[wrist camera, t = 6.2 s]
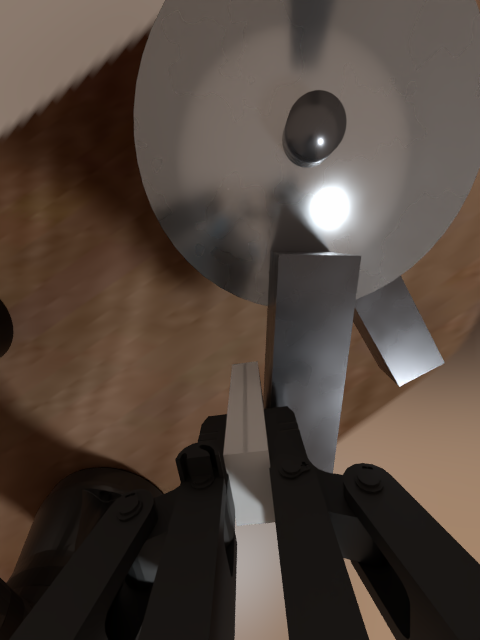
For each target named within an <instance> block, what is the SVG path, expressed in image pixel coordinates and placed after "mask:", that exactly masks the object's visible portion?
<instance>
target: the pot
mask: <svg viewBox="0 0 480 640" xmlns="http://www.w3.org/2000/svg"><path fill="white" fill-rule="evenodd" d="M353 322H354V324H355V326H356V327H357V329H358V331H359V333H360V334H361V336H362V338H363V340H364V341H365V343H366V345H367V347H368V348H369V350H370V352H371V354H372V355H373V357H374V359H375V361H376V362H377V364H378V366H379V368H380V369H382V370H383V371H384V372H385V373H386V374H387V375H388V376H389V377H390V378H391V379H392V380H393V381H394V382H395V383H396V384H397V385H398V386H401V385H403V384H405V383H407V382H409V381H411V380H413V379H415V378H417V377H419V376H421V375H422V374H424V373H426V372H428V371H430V370H432V369H434V368H436V367H438V366H440V365H442V364H444V361H443V359H442V357H441V355H440V353H439V351H438V349H437V347H436V345H435V343H434V341H433V339H432V337H431V335H430V333H429V331H428V329H427V327H426V325H425V323H424V321H423V319H422V317H421V315H420V313H419V311H418V309H417V307H416V305H415V303H414V301H413V299H412V297H411V295H410V293H409V291H408V290H407V288H406V286H405V284H404V282H403V280H402V278H401V276H399V277H398V278H396V279H395V280H394V281H392V282H390V283H388V284H387V285H385V286H383V287H381V288H380V289H378V290H376V291H374V292H372V293H370V294H367V295H365V296H363V297H360V298H358V299H356V301H355V308H354V316H353Z"/></svg>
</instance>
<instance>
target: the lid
mask: <svg viewBox="0 0 480 640" xmlns="http://www.w3.org/2000/svg"><path fill="white" fill-rule="evenodd" d="M134 139H135V147H136V155H137V162H138V166H139V170H140V174H141V178H142V182H143V186H144V189H145V191H146V194H147V197H148V199H149V202H150V205H151V207H152V209H153V211H154V213H155V215H156V217H157V219H158V221H159V223H160V225H161V227H162V229H163V230H164V231H165V233H166V234H167V236H168V237H169V239H170V240H171V242H172V243H173V245H174V246H175V247H176V249H177V250H178V251H179V252H180V253H181V254H182V255H183V257H184V258H185V259H186V260H187V261H188V262H189V263H190V264H191V265H192V266H193V267H194V268H195V269H197V270H198V271H199V272H200V273H201V274H202V275H203V276H204V277H206V278H207V279H209V280H210V281H212V282H213V283H215V284H216V285H218V286H219V287H220V288H222V289H224V290H226V291H228V292H230V293H232V294H234V295H236V296H238V297H240V298H243V299H246V300H249V301H251V302H254V303H257V304H261V305H266V306H268V311H267V332H266V353H265V374H264V396H263V403H264V409H267V408H275V407H283V406H288V407H289V408H290V409H291V410H292V411H293V412H294V414H295V417H296V420H297V424H298V427H299V430H300V434H301V437H302V440H303V444H304V447H305V450H306V454H307V457H308V459H309V460H310V461H311V463H312V464H313V465H314V466H315V467H317V468H318V469H320V470H322V471H325V472H329V473H333V467H334V460H335V452H336V445H337V437H338V429H339V422H340V414H341V407H342V399H343V392H344V384H345V376H346V369H347V361H348V354H349V346H350V339H351V331H352V323H353V316H354V308H355V301H356V299H358V298H360V297H363V296H365V295H367V294H370V293H372V292H374V291H376V290H378V289H380V288H381V287H383V286H385V285H387V284H388V283H390V282H392V281H394V280H395V279H396V278H398V277H399V276H400V275H402V274H403V273H404V272H406V271H407V270H408V269H410V268H411V267H412V266H413V265H414V264H415V263H417V262H418V261H419V260H420V259H421V258H422V257H423V256H424V255H425V254H426V253H427V252H428V251H429V250H430V249H431V248H432V247H433V246H434V244H435V243H436V242H437V241H438V240H439V239H440V238H441V236H442V235H443V234H444V233H445V231H446V230H447V228H448V227H449V226H450V224H451V223H452V221H453V220H454V218H455V217H456V215H457V214H458V212H459V210H460V209H461V207H462V205H463V203H464V201H465V199H466V197H467V196H468V194H469V192H470V190H471V187H472V185H473V182H474V180H475V178H476V175H477V173H478V170H479V168H480V12H479V9H478V6H477V3H476V1H475V0H165V2H164V4H163V6H162V8H161V10H160V12H159V14H158V16H157V18H156V20H155V22H154V24H153V26H152V29H151V32H150V34H149V37H148V40H147V43H146V46H145V49H144V52H143V55H142V59H141V64H140V68H139V73H138V78H137V82H136V92H135V102H134Z"/></svg>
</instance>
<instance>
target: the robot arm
mask: <svg viewBox="0 0 480 640" xmlns="http://www.w3.org/2000/svg"><path fill="white" fill-rule="evenodd" d="M175 460H176V464H177V468H178V472H179V477H180V481H181V484H180V486H179V487H177V488H176V489H174V490H172V491H170V492H168V493H166V494H162V493H161V492H160V491H159V490H158V489H157V488H156V487H155V486H154V485H152V484H151V483H149V482H148V481H146V480H145V479H143V478H141V477H139V476H137V475H135V474H132V473H129V472H126V471H122V470H118V469H112V468H91V469H86V470H82V471H78V472H75V473H73V474H71V475H69V476H67V477H66V478H64V479H63V480H62V481H60V482H59V483H58V484H57V485H56V486H55V488H54V489H53V490H52V491H51V493H50V494H49V495H48V497H47V498H46V499H45V500H44V502H43V503H42V505H41V506H40V508H39V510H38V511H37V514H36V516H35V519H34V521H33V523H32V526H31V529H30V531H29V534H28V536H27V539H26V541H25V544H24V546H23V549H22V551H21V554H20V556H19V559H18V561H17V564H16V566H15V569H14V571H13V574H12V575H11V577H10V578H9V580H8V581H7V583H5V582H4V581H3V580H2V579H1V578H0V640H234V636H235V600H236V564H237V541H236V535H235V518H236V523H237V526H240V525H250V524H262V523H271V522H275V523H276V532H277V540H278V549H279V557H280V566H281V574H282V583H283V591H284V599H285V608H286V617H287V625H288V634H289V640H369V637H368V634H367V631H366V629H365V625H364V622H363V619H362V616H361V613H360V610H359V606H358V603H357V600H356V597H355V594H354V591H353V588H352V584H351V581H350V578H349V575H348V572H347V569H346V566H345V563H344V559H343V558H346V559H350V560H351V563H352V565H353V566H354V568H355V570H356V572H357V573H358V575H359V577H360V579H361V580H362V582H363V584H364V585H365V587H366V589H367V590H368V592H369V594H370V596H371V597H372V599H373V601H374V603H375V604H376V606H377V608H378V609H379V611H380V613H381V615H382V616H383V618H384V620H385V621H386V623H387V625H388V627H389V628H390V630H391V632H392V633H393V635H394V637H395V639H396V640H480V564H479V563H478V562H477V561H476V560H475V559H474V558H473V557H472V556H471V555H470V554H469V553H468V552H467V551H466V550H465V549H464V548H463V547H462V546H461V545H460V544H459V543H458V542H457V541H456V540H455V539H454V538H453V537H452V536H451V535H450V534H449V533H448V532H447V531H446V530H445V529H444V528H443V527H442V526H441V525H440V524H439V523H438V522H437V521H436V520H435V519H434V518H433V517H432V516H431V515H430V514H429V513H428V512H427V511H426V510H425V509H424V508H423V507H422V506H421V505H420V504H419V503H418V502H417V501H416V500H415V499H414V498H413V497H412V496H411V495H410V494H409V493H408V492H407V491H406V490H405V489H404V488H403V487H402V486H401V485H400V484H399V483H398V482H397V481H396V480H395V479H394V478H393V477H392V476H391V475H390V474H389V473H388V472H386V471H385V470H384V469H382V468H380V467H377V466H375V465H373V464H365V463H361V464H354V465H352V466H350V467H349V468H347V469H346V471H345V473H344V474H343V475H339V474H333V473H329V472H325V471H322V470H320V469H318V468H317V467H315V466H314V465H313V464H312V463H311V461H310V460H309V459H308V457H307V454H306V450H305V447H304V444H303V440H302V437H301V434H300V430H299V427H298V424H297V420H296V417H295V414H294V412H293V411H292V410H291V409H290V408H289V407H288V406H283V407H275V408H267V409H264V403H263V396H262V389H261V382H260V375H259V368H258V361H257V362H249V363H241V364H234V365H232V372H231V382H230V392H229V402H228V412H227V414H225V415H217V416H208V418H207V419H206V420H205V421H204V422H203V424H202V426H201V430H200V435H199V439H198V443H195V444H192V445H190V446H188V447H186V448H184V449H183V450H182V451H181V452H180V453H179V454H178V456H177V458H176V459H175Z"/></svg>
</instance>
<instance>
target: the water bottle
mask: <svg viewBox="0 0 480 640" xmlns="http://www.w3.org/2000/svg"><path fill="white" fill-rule="evenodd" d="M12 339H13V324H12V320H11V317H10V314H9V312H8V310H7V309H6V307H5V305H4V304H3V302H2V301H1V300H0V357H2V356H3V355H4V354H5V353H6V352H7V351H8V349H9V347H10V345H11V343H12Z"/></svg>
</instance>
